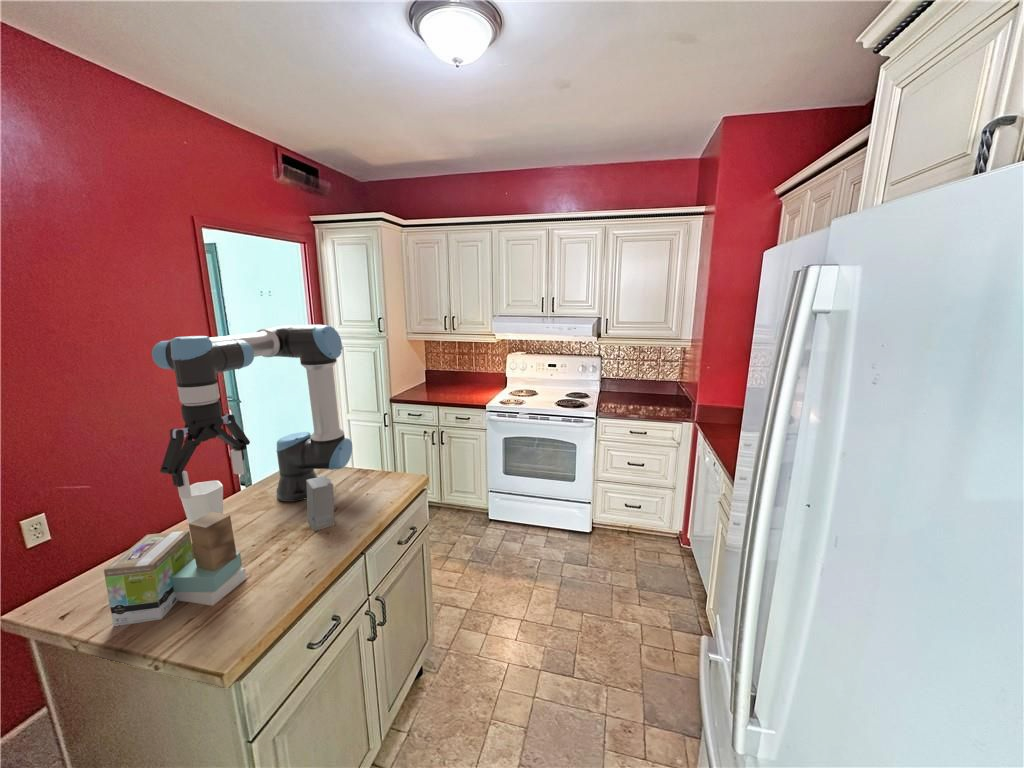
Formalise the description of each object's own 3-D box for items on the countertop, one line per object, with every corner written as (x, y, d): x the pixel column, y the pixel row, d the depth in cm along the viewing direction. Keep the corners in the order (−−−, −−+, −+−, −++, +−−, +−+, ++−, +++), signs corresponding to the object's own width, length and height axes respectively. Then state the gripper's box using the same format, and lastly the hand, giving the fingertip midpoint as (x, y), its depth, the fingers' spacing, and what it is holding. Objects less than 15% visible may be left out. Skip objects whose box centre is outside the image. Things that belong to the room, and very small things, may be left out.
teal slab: (204, 566, 107) (202, 552, 106) (242, 565, 107) (240, 552, 106) (173, 592, 97) (171, 577, 96) (215, 591, 97) (213, 577, 96)
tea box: (163, 620, 93) (153, 564, 90) (112, 628, 90) (99, 570, 88) (198, 578, 107) (190, 528, 104) (154, 584, 105) (145, 533, 102)
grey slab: (215, 576, 108) (213, 563, 108) (247, 581, 107) (245, 568, 106) (178, 603, 99) (176, 589, 98) (213, 608, 97) (210, 594, 96)
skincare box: (307, 523, 134) (302, 479, 131) (329, 516, 139) (325, 474, 136) (314, 534, 128) (309, 488, 125) (337, 526, 132) (333, 482, 129)
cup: (212, 527, 132) (204, 479, 129) (237, 530, 130) (230, 481, 127) (178, 546, 121) (168, 494, 118) (205, 550, 119) (196, 498, 116)
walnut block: (220, 552, 106) (213, 511, 103) (237, 557, 104) (230, 515, 101) (196, 566, 100) (188, 523, 98) (213, 571, 98) (205, 527, 96)
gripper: (236, 390, 107) (246, 464, 111) (127, 414, 83) (146, 507, 88) (258, 391, 105) (268, 466, 109) (153, 417, 81) (171, 512, 86)
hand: (214, 485), depth 98 cm, fingers open, 13 cm apart
